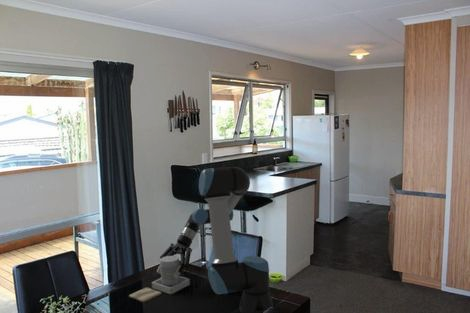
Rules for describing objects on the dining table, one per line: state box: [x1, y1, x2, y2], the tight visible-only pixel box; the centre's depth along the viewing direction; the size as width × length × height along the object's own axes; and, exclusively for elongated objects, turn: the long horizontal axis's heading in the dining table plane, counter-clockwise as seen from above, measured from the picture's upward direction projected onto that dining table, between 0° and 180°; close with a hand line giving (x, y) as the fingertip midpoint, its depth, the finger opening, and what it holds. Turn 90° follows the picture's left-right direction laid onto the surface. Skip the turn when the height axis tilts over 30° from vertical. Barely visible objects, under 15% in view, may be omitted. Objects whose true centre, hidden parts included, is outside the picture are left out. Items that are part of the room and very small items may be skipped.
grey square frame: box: [151, 275, 191, 295], centre depth 205 cm, size 14×14×3 cm
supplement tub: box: [159, 255, 181, 288], centre depth 204 cm, size 10×10×15 cm
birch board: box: [128, 287, 162, 303], centre depth 195 cm, size 11×11×1 cm
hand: (166, 275), depth 202 cm, fingers open, 11 cm apart
